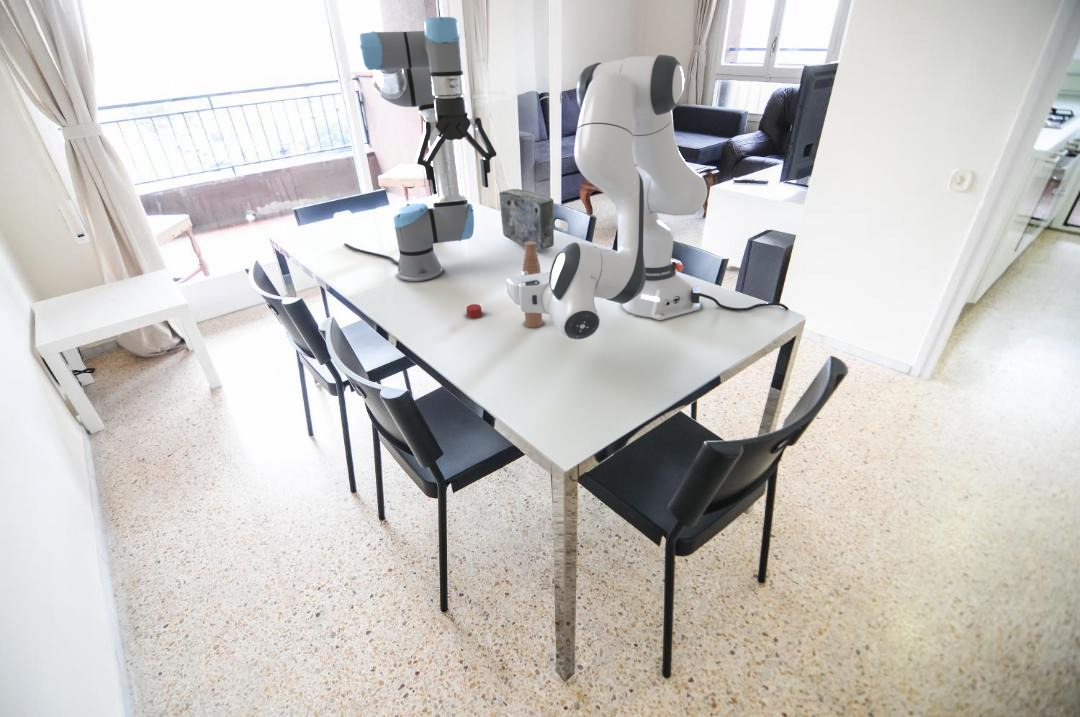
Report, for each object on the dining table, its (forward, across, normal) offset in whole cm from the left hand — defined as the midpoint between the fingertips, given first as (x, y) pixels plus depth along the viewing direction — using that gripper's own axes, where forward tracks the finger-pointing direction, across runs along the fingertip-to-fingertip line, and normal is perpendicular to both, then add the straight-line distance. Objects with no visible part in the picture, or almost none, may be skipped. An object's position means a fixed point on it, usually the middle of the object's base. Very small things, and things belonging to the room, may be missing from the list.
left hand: (460, 189), depth 128 cm
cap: (+36, 0, 0) cm, 36 cm away
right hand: (+16, +12, -25) cm, 32 cm away
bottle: (+36, +14, -13) cm, 41 cm away
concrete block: (+36, +38, +48) cm, 71 cm away
